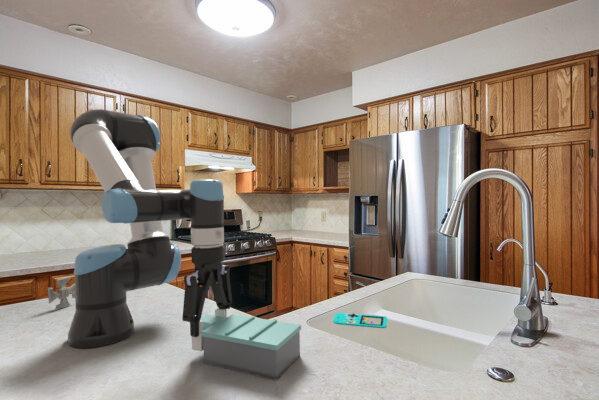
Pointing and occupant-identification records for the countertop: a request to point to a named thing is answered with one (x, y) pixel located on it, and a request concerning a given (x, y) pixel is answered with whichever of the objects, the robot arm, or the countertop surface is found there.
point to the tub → (252, 356)
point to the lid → (249, 330)
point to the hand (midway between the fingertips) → (209, 342)
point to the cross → (62, 293)
